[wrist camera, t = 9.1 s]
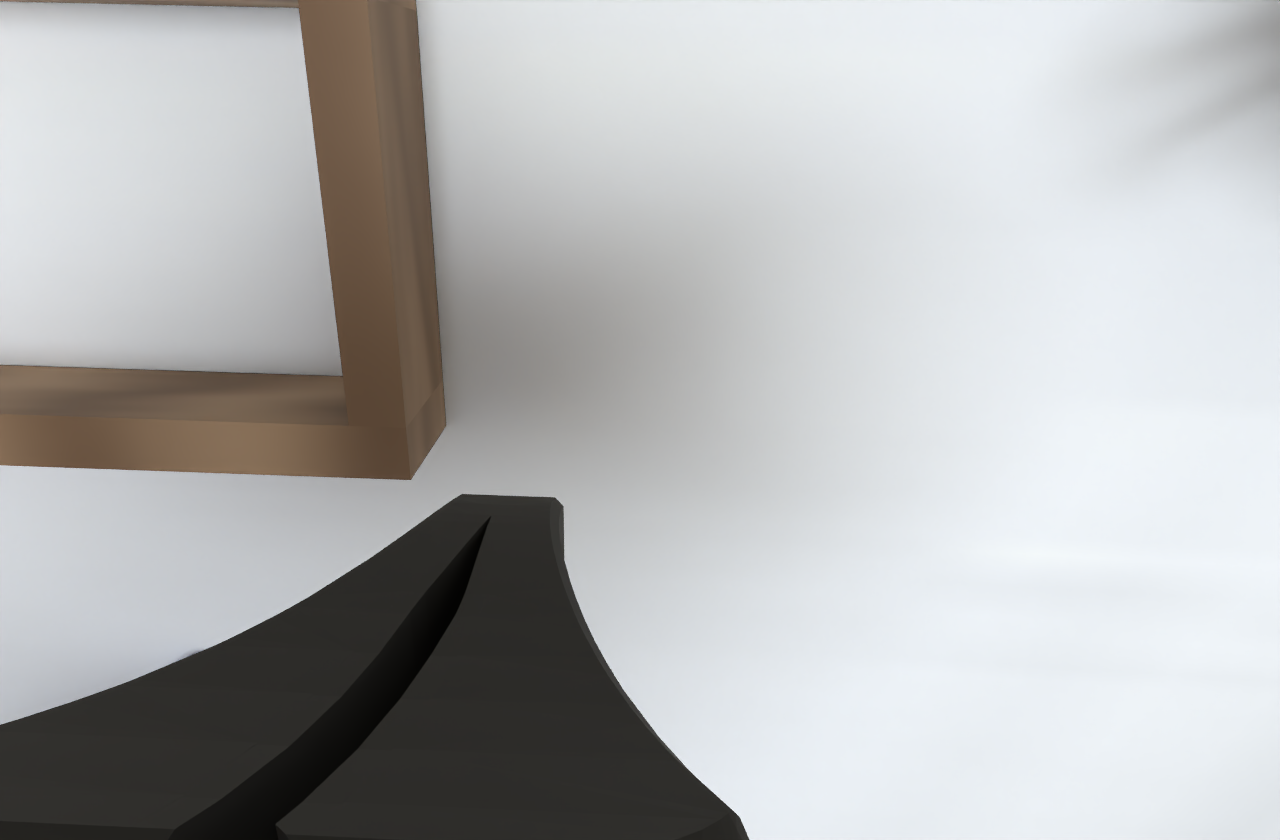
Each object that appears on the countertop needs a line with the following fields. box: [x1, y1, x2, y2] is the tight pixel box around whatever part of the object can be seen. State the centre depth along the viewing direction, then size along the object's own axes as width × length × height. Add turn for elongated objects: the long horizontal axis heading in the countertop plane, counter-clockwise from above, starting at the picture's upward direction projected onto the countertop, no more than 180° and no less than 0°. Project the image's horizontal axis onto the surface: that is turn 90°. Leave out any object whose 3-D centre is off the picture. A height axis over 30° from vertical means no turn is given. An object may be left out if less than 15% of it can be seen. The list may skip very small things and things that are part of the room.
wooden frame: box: [0, 0, 446, 480], centre depth 17 cm, size 14×10×3 cm
